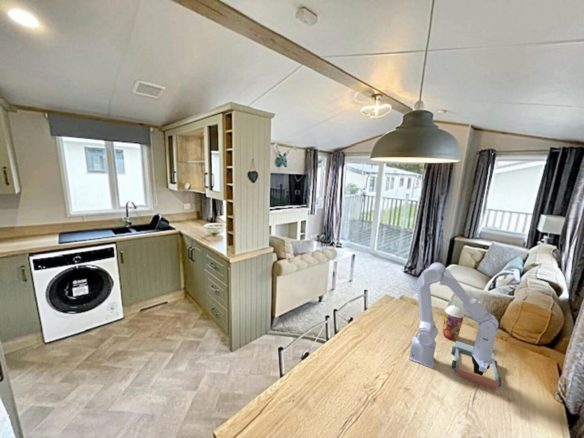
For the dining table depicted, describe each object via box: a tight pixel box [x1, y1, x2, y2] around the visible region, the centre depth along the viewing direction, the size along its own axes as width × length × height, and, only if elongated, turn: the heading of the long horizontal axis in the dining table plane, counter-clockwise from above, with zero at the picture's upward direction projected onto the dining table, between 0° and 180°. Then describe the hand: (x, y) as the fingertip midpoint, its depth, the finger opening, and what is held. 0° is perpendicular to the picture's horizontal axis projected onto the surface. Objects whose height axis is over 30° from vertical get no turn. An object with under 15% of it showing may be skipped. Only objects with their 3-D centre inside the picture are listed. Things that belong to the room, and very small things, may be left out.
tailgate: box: [456, 367, 499, 391], centre depth 102 cm, size 13×1×6 cm, turn 58°
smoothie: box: [442, 300, 465, 341], centre depth 130 cm, size 8×8×20 cm
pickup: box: [451, 340, 502, 387], centre depth 111 cm, size 16×17×5 cm
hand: (477, 376), depth 102 cm, fingers closed, pressing on tailgate
